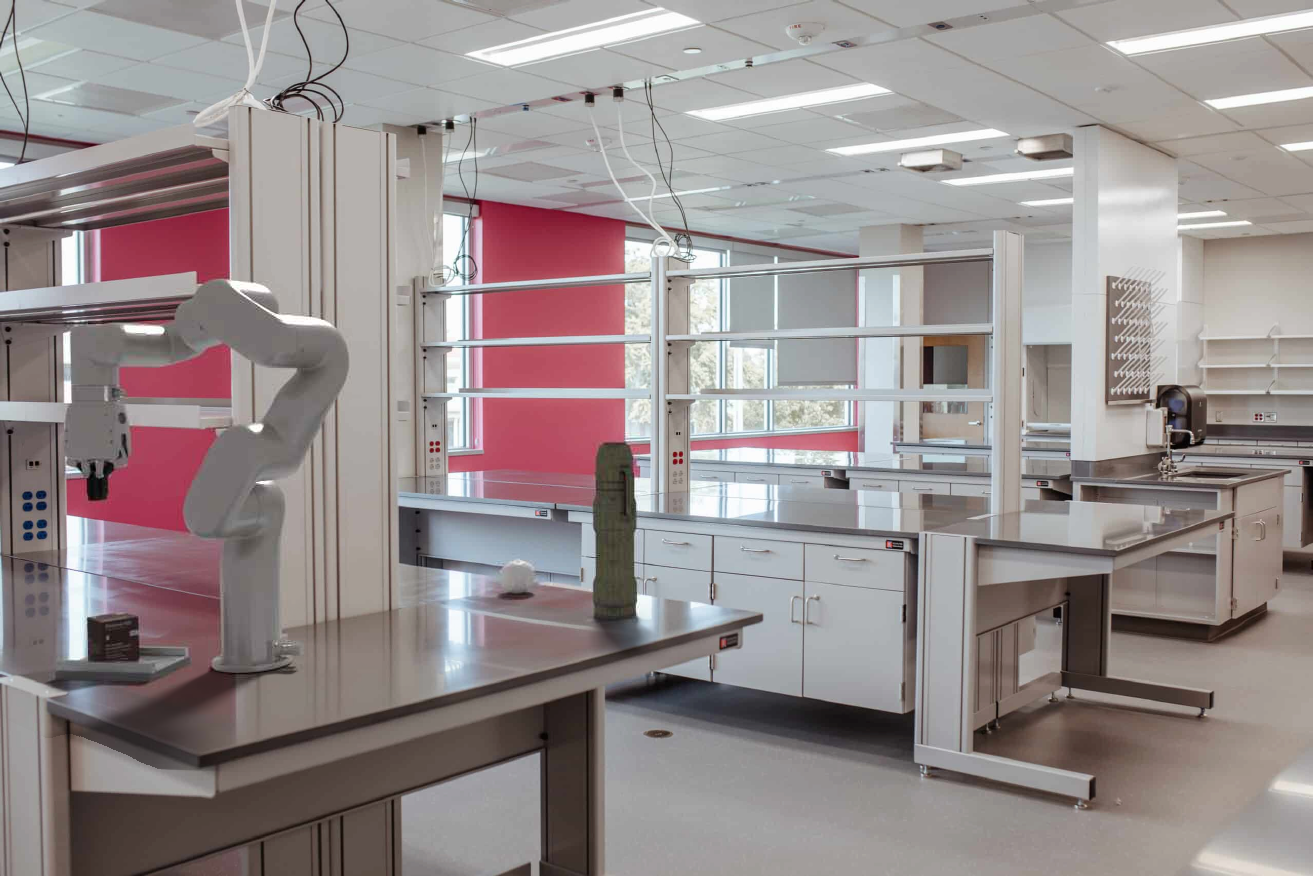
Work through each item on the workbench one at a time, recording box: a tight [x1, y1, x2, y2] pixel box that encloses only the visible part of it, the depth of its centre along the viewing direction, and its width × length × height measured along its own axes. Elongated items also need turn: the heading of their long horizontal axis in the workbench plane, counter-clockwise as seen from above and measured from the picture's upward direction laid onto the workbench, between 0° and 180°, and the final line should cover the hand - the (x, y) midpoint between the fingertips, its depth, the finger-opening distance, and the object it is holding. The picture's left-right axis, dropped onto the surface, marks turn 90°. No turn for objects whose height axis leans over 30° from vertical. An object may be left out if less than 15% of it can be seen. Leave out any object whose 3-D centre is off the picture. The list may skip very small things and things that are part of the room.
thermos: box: [592, 441, 638, 620], centre depth 223 cm, size 9×12×35 cm
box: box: [86, 612, 140, 661], centre depth 181 cm, size 6×6×7 cm
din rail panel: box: [54, 645, 191, 683], centre depth 181 cm, size 16×12×3 cm
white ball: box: [499, 559, 536, 595], centre depth 247 cm, size 8×8×8 cm
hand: (97, 499), depth 193 cm, fingers closed
